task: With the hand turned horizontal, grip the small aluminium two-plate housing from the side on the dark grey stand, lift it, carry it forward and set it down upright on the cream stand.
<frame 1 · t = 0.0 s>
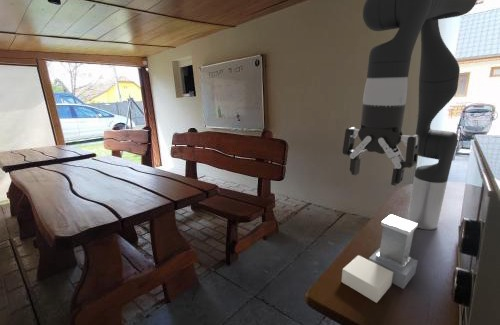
hand: (373, 179, 56), 29 cm above the table, tool pointing down, fingers open, 8 cm apart
stand a: (391, 271, 70), on the table
housing: (393, 259, 69), point 4 cm above the table, touching stand a
stand b: (365, 283, 66), on the table
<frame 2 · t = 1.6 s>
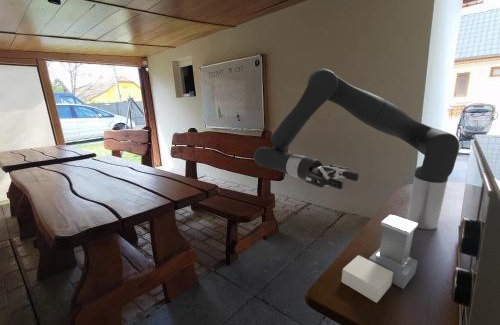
hand: (350, 181, 73), 22 cm above the table, tool horizontal, fingers open, 8 cm apart
nothing on the table moved.
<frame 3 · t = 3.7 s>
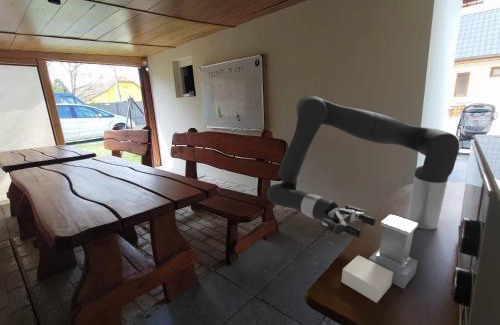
hand: (367, 228, 72), 10 cm above the table, tool horizontal, fingers open, 8 cm apart
nothing on the table moved.
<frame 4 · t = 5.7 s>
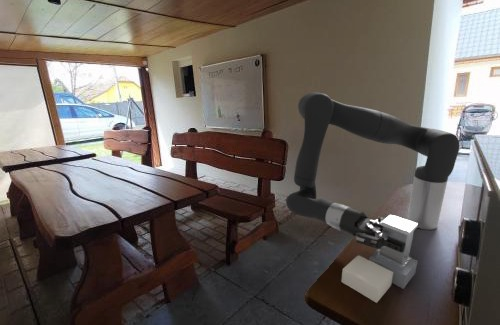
hand: (407, 244, 65), 10 cm above the table, tool horizontal, fingers closed on housing, 4 cm apart
housing: (393, 259, 69), point 4 cm above the table, touching gripper, stand a
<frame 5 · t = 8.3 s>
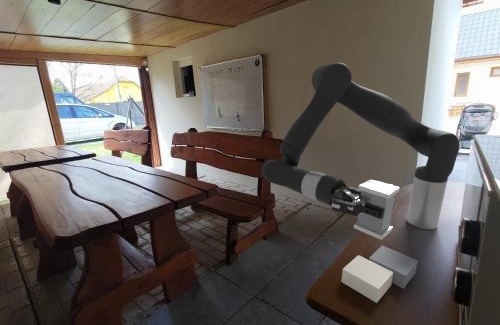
hand: (388, 210, 58), 22 cm above the table, tool horizontal, fingers closed on housing, 4 cm apart
housing: (372, 229, 61), point 16 cm above the table, touching gripper
when the fingers open (11 cm above the table, at t = 10.6 s): housing drops 1 cm, resting on stand b.
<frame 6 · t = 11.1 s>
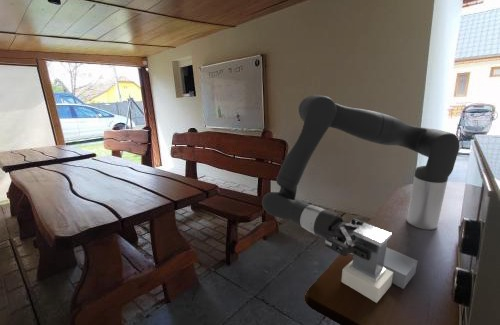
hand: (379, 248, 61), 11 cm above the table, tool horizontal, fingers open, 8 cm apart
housing: (367, 270, 65), point 4 cm above the table, touching stand b
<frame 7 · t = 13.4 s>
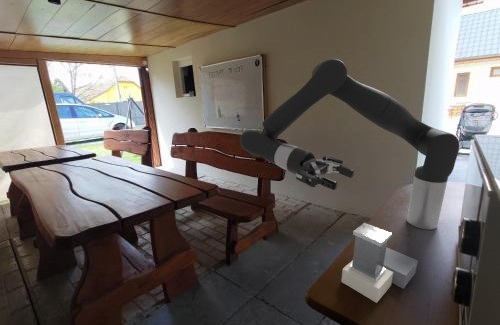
hand: (345, 180, 66), 25 cm above the table, tool horizontal, fingers open, 8 cm apart
nothing on the table moved.
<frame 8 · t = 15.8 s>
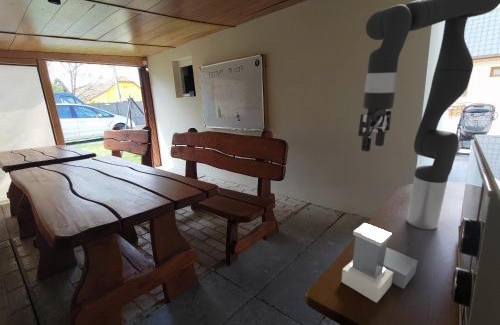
hand: (372, 148, 76), 30 cm above the table, tool pointing down, fingers open, 8 cm apart
nothing on the table moved.
at the end: housing inside the target area on the stand b (0.1 cm from its centre), point 4.0 cm above the stand b's base; housing tilted 0°; housing touching stand b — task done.
